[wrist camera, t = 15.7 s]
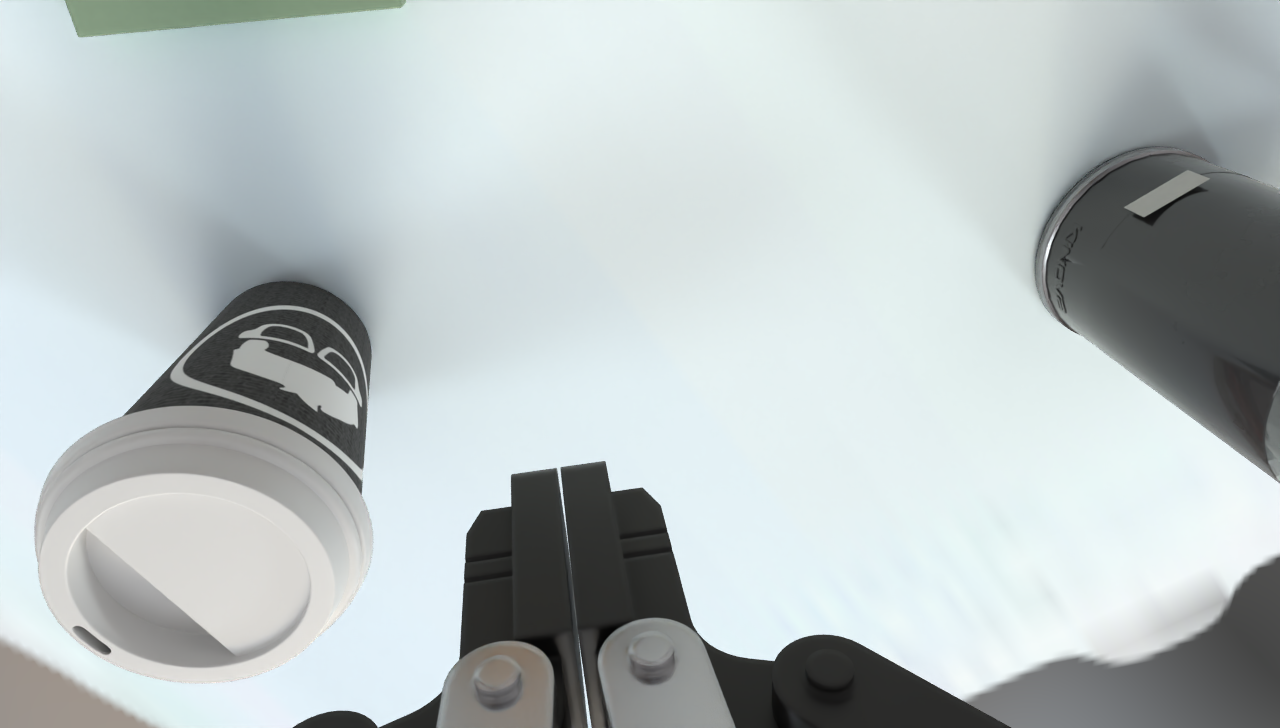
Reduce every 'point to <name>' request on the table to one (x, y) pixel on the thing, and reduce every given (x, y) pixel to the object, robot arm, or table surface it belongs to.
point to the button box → (200, 12)
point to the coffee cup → (220, 498)
